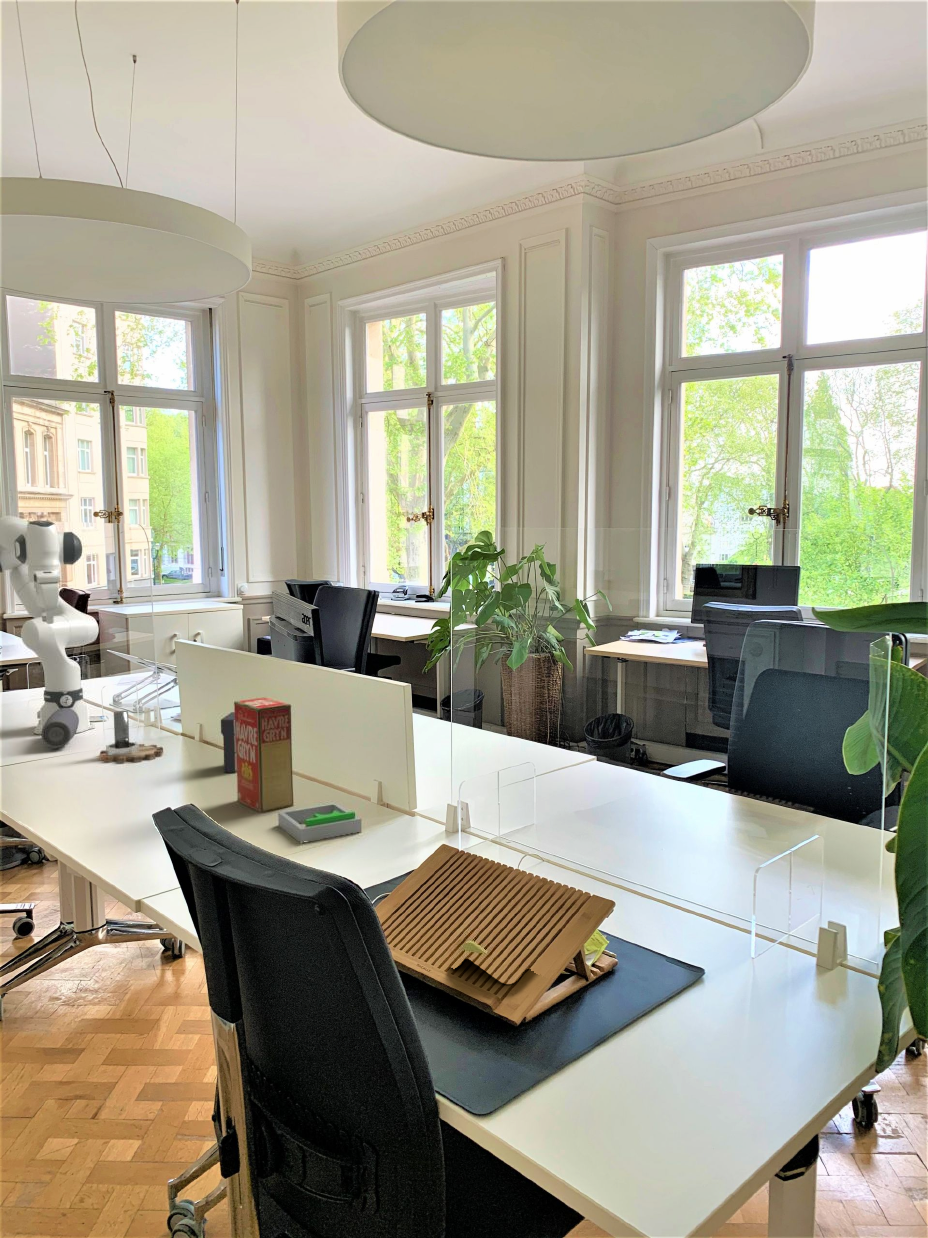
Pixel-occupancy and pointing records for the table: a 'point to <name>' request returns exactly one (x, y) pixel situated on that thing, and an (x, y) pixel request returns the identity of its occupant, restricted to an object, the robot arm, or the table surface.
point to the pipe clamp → (329, 818)
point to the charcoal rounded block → (229, 743)
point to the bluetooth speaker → (60, 728)
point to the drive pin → (121, 729)
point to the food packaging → (264, 754)
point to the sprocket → (130, 753)
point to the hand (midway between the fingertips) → (47, 622)
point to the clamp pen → (316, 832)
